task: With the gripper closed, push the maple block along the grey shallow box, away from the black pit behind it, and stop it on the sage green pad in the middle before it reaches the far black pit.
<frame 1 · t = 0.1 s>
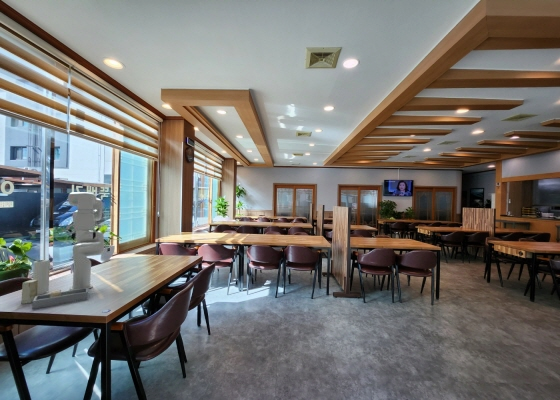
hand: (83, 239, 151), 37 cm above the table, tool pointing down, fingers open, 9 cm apart
skincare box: (29, 302, 143), on the table
grey shallow box: (62, 301, 144), on the table
paper towel roll: (39, 293, 157), on the table
maple block: (55, 298, 143), point 2 cm above the table, touching grey shallow box
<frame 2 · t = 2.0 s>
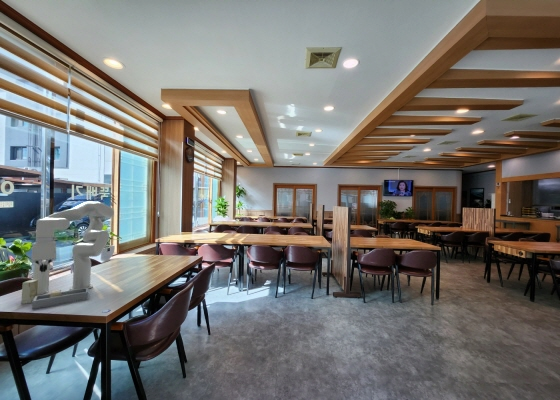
hand: (43, 271, 139), 19 cm above the table, tool pointing down, fingers closed
nothing on the table moved.
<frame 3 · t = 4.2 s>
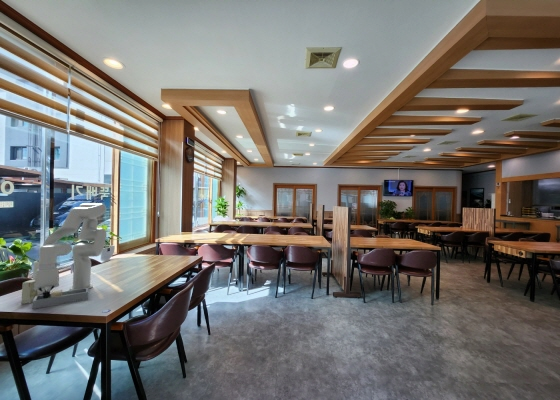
hand: (46, 298, 140), 3 cm above the table, tool pointing down, fingers closed
maple block: (56, 298, 143), point 2 cm above the table, touching gripper
everything else where it was.
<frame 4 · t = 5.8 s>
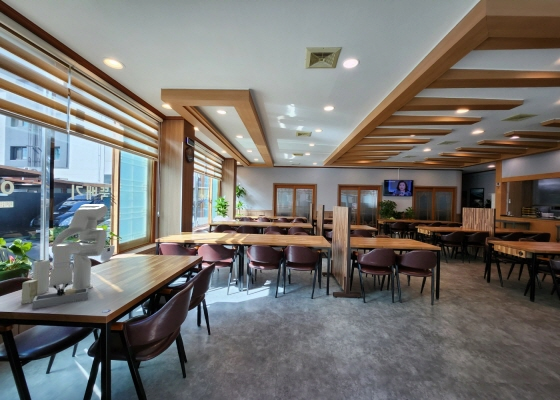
hand: (60, 295, 144), 4 cm above the table, tool pointing down, fingers closed
maple block: (70, 296, 146), point 2 cm above the table, touching gripper, grey shallow box
everything else where it was.
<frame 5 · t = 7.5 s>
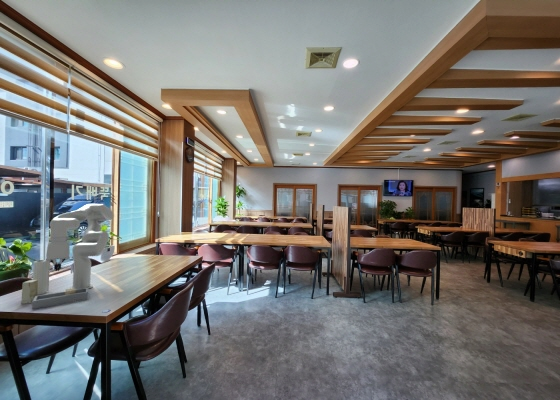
hand: (57, 270, 143), 19 cm above the table, tool pointing down, fingers closed
maple block: (70, 296, 146), point 2 cm above the table, touching grey shallow box
everything else where it was.
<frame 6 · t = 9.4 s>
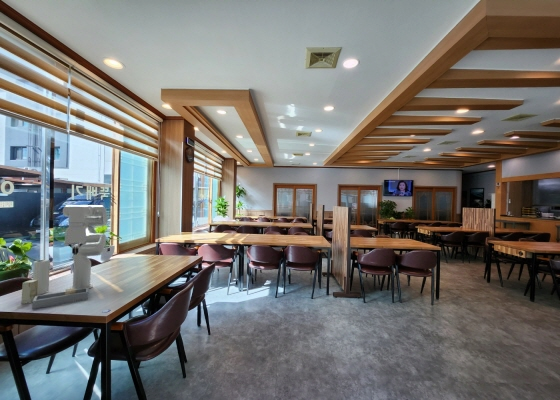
hand: (75, 254, 151), 27 cm above the table, tool pointing down, fingers closed
nothing on the table moved.
at the end: maple block 0.8 cm from the target spot on the grey shallow box, point 2.4 cm above the grey shallow box's base; maple block tilted 0°; maple block moved 6.6 cm from its start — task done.
